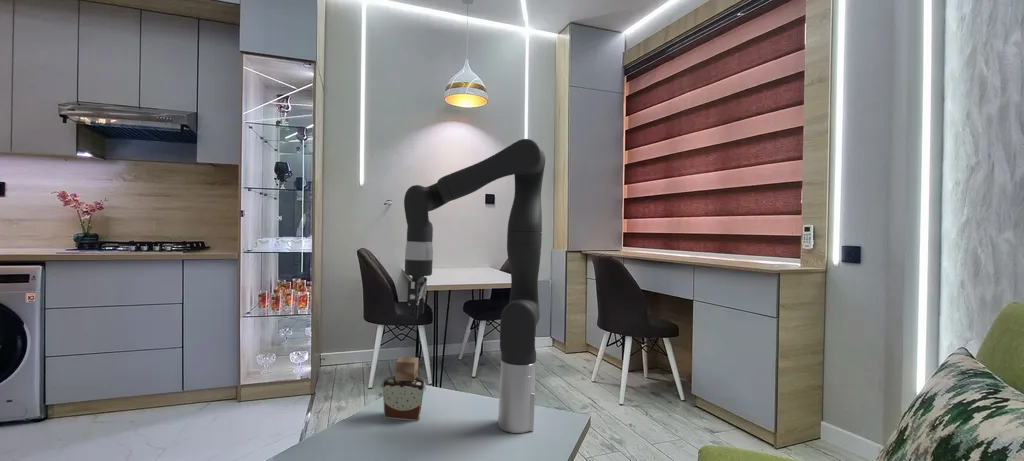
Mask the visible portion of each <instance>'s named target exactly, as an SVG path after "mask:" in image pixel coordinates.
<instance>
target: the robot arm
mask: <svg viewBox="0 0 1024 461" xmlns="http://www.w3.org/2000/svg"><path fill="white" fill-rule="evenodd" d="M545 165H546V155H545V153H544V150H543V149H542V147H541V146H540V145H539V144H538V142H536V141H535V140H534V139H530V138H521V139H519V140H517V141H515V142H513V143H512V144H510V145H508V146H506V147H505V148H504V149H502V150H500V151H498V152H497V153H494V154H493V155H491V156H489V157H487V158H485V159H483V160H481V161H479V162H476V163H474V164H471V165H469V166H467V167H464V168H461V169H459V170H457V171H454V172H452V173H449V174H447V175H444V176H442V177H440V178H439V179H438V180H437V182H435V183H433V184H431V185H429V186H423V185H420V184H419V185H418V184H416V185H411V186H409V188H408V189H406V192H405V195H404V198H403V207H404V216H405V221H406V224H407V229H406V244H405V249H404V250H405V251H404V271H403V272H404V275H406V276H411V280H408V282H407V299H406V300H407V301H406V304H407V305H408V307H409V310H408V312H409V313H408V314H409V315H408V320H409V321H410V320H412V321H413V320H414V321H416V320H418V319H419V318H418V317H419V315H423V314H424V313H425V300H426V298H427V284H428V282H427V281H428V277H430V276H432V275H433V259H434V258H433V257H434V250H433V248H434V247H433V238H434V237H433V236H434V233H433V232H434V229H433V228H434V227H433V223H432V222H431V220H430V219H429V218H430V217H429V212H431V211H434V210H437V209H439V208H441V207H442V206H444V205H446V204H447V203H449V202H452V201H454V200H458V199H460V198H463V197H465V196H469V195H470V194H472V193H473V194H474V193H475V192H477V191H478V190H481V189H482V188H483V187H485V186H487V185H488V184H490V183H492V182H495V181H497V180H498V179H502V178H505V177H509V176H514V197H513V201H512V205H511V210H510V212H509V217H508V220H507V221H508V222H507V234H506V252H507V260H508V266H509V272H510V278H511V282H510V283H511V284H510V295H509V301H508V303H507V305H505V307H504V308H503V309H502V312H501V315H500V324H499V326H500V327H499V349H500V373H499V374H500V380H499V398H498V417H497V418H498V419H497V420H498V421H497V426H498V428H499V429H500V430H502V431H504V432H508V433H513V434H522V433H523V434H524V433H527V432H534V430H535V429H534V427H535V404H536V391H535V388H536V368H537V367H536V366H537V365H536V364H537V350H536V327H537V325H538V323H539V320H540V304H539V285H538V284H539V280H538V279H539V274H540V272H539V271H540V265H541V255H542V252H541V251H542V239H543V236H542V235H543V233H542V232H543V227H542V226H543V218H542V217H543V215H542V214H543V212H542V211H543V210H542V187H543V179H544V172H545V168H546V167H545Z"/></svg>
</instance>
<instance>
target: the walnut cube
mask: <svg viewBox="0 0 1024 461" xmlns="http://www.w3.org/2000/svg"><path fill="white" fill-rule="evenodd" d="M418 373H419V357H416V356H415V357H411V356H410V357H409V356H400V357H399V358H398V359H397V360H396V361H395V375H394V376H395V381H415V379H416V378H417V376H418V375H419V374H418ZM418 377H419V376H418Z"/></svg>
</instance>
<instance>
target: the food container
mask: <svg viewBox="0 0 1024 461" xmlns="http://www.w3.org/2000/svg"><path fill="white" fill-rule="evenodd" d="M380 388H382V395H383V396H382V397H383V415H384V416H383V418H384V419H394V420H404V421H414V422H419V420H420V417H421V412H422V411H421V410H422V404H423V398H424V397H423V396H424V392H426V391H427V384H426V382H425V379H424V378H423V377H421V376H420V377H419V376H417V378H416V379H415V381H395V375H392V376H389V377H386V378H384V379H382V382H381V384H380Z"/></svg>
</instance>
